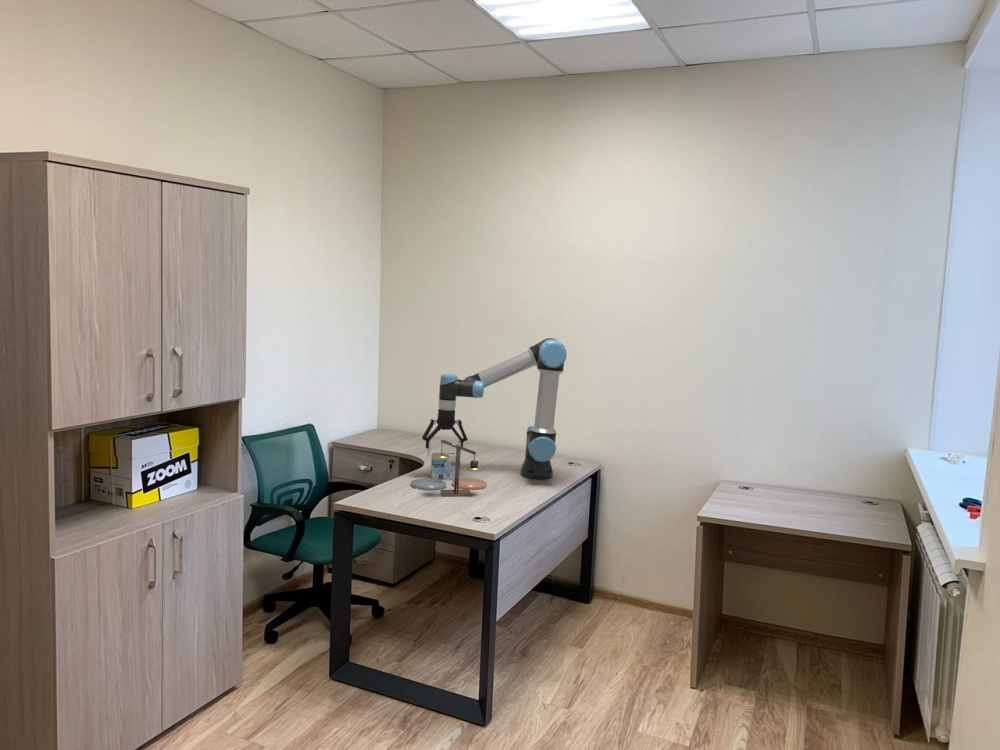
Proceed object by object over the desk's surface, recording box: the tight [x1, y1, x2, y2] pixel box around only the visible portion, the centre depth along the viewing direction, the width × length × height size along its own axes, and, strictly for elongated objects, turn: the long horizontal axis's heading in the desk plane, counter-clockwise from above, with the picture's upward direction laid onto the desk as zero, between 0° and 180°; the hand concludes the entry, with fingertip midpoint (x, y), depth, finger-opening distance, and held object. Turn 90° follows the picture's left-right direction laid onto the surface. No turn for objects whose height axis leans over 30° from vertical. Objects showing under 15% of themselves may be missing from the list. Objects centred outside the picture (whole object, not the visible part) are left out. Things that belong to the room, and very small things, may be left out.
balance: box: [433, 439, 483, 498], centre depth 316 cm, size 21×7×23 cm, turn 106°
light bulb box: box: [430, 452, 456, 481], centre depth 343 cm, size 11×7×11 cm, turn 105°
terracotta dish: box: [451, 477, 488, 491], centre depth 333 cm, size 15×15×1 cm
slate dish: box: [410, 477, 447, 491], centre depth 328 cm, size 15×15×1 cm
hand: (443, 456), depth 342 cm, fingers open, 13 cm apart
